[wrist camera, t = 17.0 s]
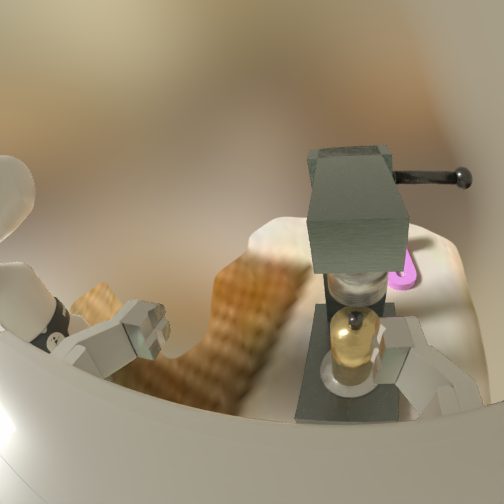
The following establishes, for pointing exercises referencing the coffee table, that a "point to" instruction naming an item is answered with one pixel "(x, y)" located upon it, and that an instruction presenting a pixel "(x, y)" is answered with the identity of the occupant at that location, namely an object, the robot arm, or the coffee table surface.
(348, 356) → the bottle
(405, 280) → the bracket
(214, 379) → the coffee table surface
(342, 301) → the press
